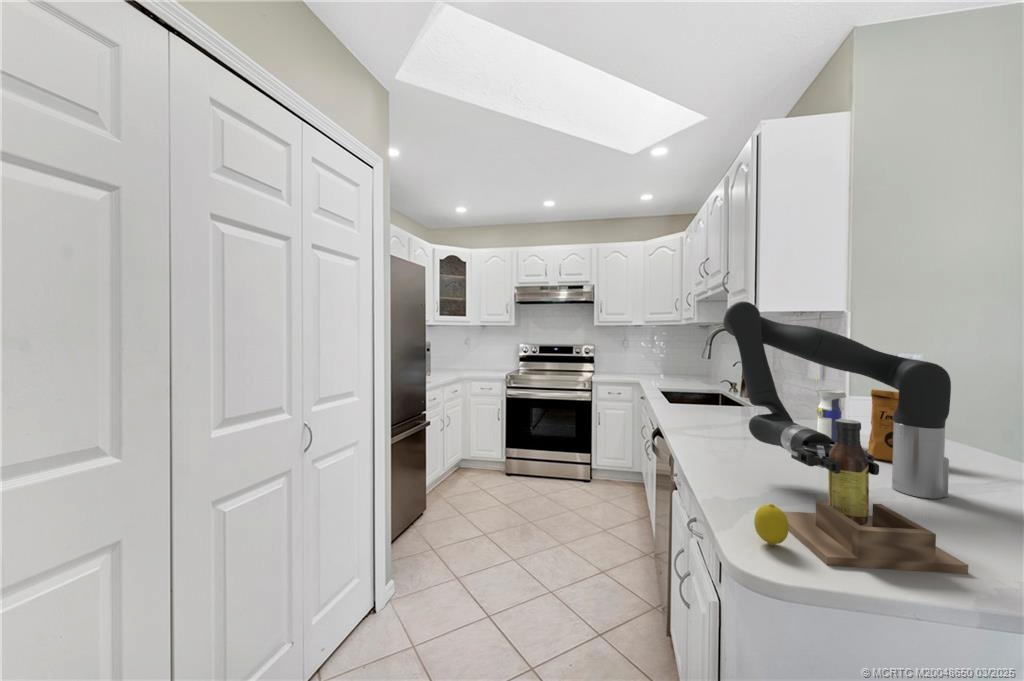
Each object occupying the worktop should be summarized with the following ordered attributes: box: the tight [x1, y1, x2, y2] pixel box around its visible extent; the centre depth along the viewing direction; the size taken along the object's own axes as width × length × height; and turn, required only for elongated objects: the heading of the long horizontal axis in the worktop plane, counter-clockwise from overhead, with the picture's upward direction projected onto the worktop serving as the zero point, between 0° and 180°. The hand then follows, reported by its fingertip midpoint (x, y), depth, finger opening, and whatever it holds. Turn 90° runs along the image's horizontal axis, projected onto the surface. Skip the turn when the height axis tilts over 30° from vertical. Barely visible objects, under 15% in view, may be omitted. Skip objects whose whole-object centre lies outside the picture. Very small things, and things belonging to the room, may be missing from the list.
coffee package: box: [867, 388, 899, 463], centre depth 127 cm, size 10×12×22 cm
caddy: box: [782, 500, 969, 575], centre depth 79 cm, size 22×18×6 cm
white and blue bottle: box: [815, 373, 847, 443], centre depth 144 cm, size 8×9×25 cm
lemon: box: [753, 503, 789, 546], centre depth 78 cm, size 6×6×8 cm
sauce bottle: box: [828, 418, 870, 525], centre depth 81 cm, size 7×6×20 cm
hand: (857, 469), depth 79 cm, fingers closed on sauce bottle, 6 cm apart
